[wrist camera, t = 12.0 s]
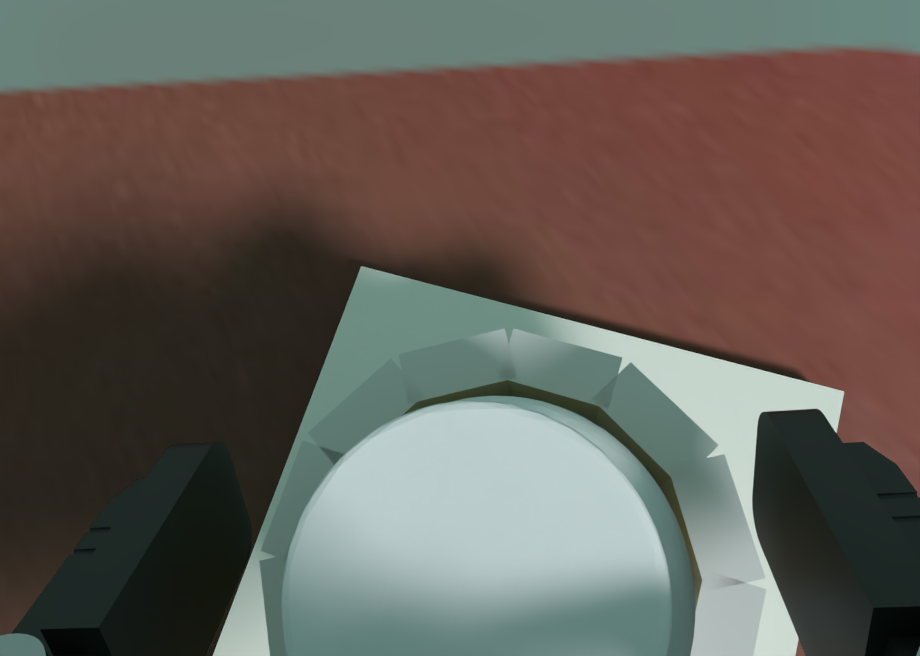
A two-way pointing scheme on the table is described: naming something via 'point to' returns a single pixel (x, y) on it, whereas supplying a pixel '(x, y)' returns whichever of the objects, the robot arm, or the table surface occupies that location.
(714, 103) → the table surface
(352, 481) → the supplement bottle
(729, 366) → the sleeve holder
